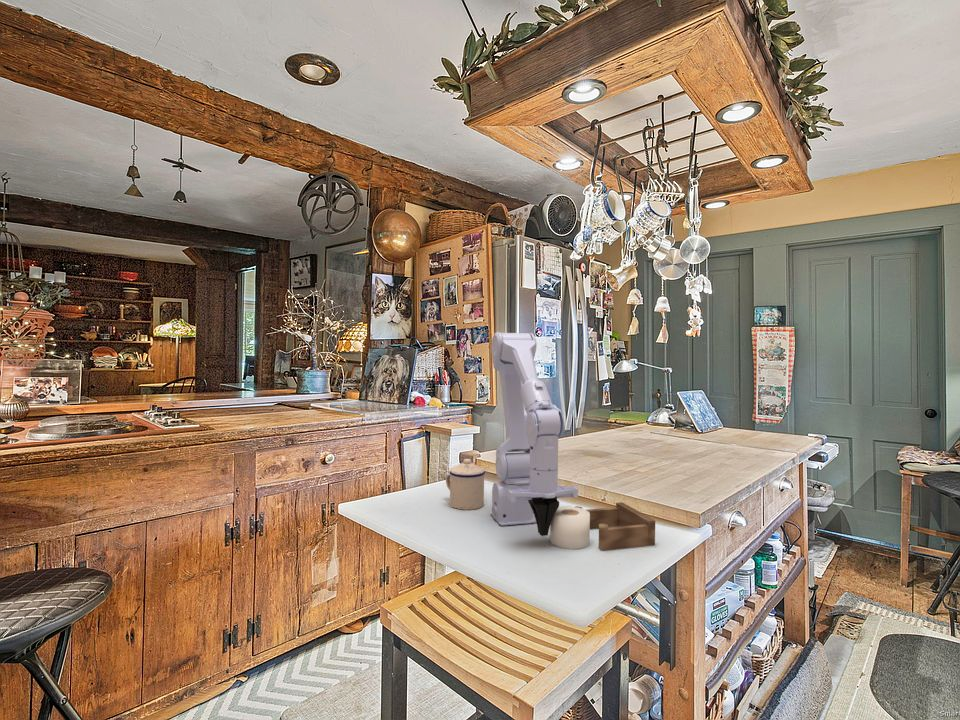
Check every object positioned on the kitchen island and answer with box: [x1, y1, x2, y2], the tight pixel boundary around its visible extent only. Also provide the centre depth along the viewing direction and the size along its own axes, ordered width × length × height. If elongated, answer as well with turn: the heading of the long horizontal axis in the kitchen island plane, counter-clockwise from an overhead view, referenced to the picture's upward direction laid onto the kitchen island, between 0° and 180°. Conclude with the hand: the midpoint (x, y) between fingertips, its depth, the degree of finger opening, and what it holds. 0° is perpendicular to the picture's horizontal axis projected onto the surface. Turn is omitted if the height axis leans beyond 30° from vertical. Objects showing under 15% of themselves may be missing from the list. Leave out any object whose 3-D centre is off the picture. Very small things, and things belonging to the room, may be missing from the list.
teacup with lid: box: [445, 458, 486, 511], centre depth 125 cm, size 12×9×12 cm
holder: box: [574, 501, 656, 552], centre depth 104 cm, size 12×13×5 cm
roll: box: [549, 505, 591, 550], centre depth 101 cm, size 8×8×6 cm
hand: (542, 534), depth 100 cm, fingers closed
